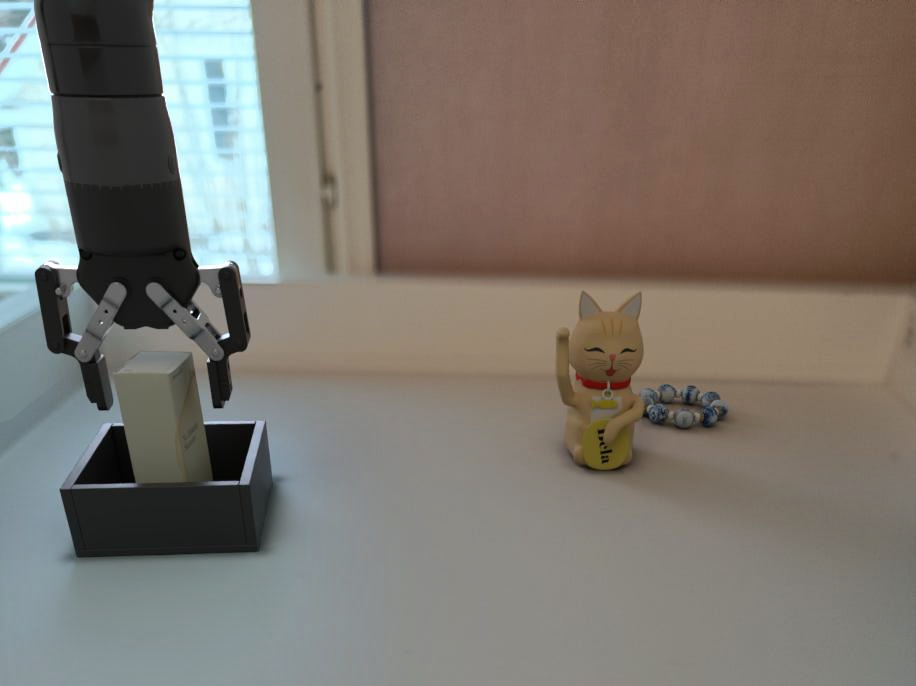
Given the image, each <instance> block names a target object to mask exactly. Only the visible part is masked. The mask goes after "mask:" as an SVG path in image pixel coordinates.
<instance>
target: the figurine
mask: <svg viewBox="0 0 916 686" xmlns="http://www.w3.org/2000/svg"><path fill="white" fill-rule="evenodd" d="M642 300H643V293H642V291H641V290H639V291H638V292H635V293H633V294H631V295H630V296H628V297H627V298H625V300H624V301H623V300H622V302H621V303H619V305H618V306H617V307H616V308H615V310H614V311H605V310H604V311H603V309H602V308H601V306H600V305H599V304H598V303H597V301H596V300H595V299H594V298H593V297H592V296H591V295H590V294H589V293H587V292H586V291H584V290H581V291H580V296H579V303H578V321H577V323H576V324H575V326H574V328H573V330H572V332H570V330H569V329H568V328H567V327H565V326H560V327H558V328H557V330H556V333H555V362H554V364H555V365H554V373H555V379H556V384H557V388H558V393H559V396H560V400H561V402H562V404H563V405H565V406H567V409H566V419H565V423H564V424H565V425H564V443H565V447H566V449H567V450H568V451H569V452H570V454H571V455H572V457H573V461H574V463H576V464H577V465H581V466H587V467H590V468H591V469H594V470H598V471H610V470H614V469H617V468H619V467H620V466H625V465H629V464H630V463H631V461H632V460H633V442H634V434H635V427H636V426H635V425H636V423H638V422H639V421H640V420H641V419H642V418H643V416H644V415H643V412H644V400H643V399H642V397H641V396H639V394H636V393H634V392H633V390H632V389H633V388H632V386H631V382H632V376H634V374H636V372H637V371H638V369H639V368H640V366H641V365H642V362H643V359H644V354H645V353H644V352H645V351H644V350H645V348H644V340H643V336H642V332H641V327H640V324H639V318H640V314H641V309H642ZM570 366H571V368H573V370H574V371H575V374H574V375H575V376H574V377H575V379H574V381H573V383H572V381H571V377H570Z"/></svg>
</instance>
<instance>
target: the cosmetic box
mask: <svg viewBox="0 0 916 686" xmlns="http://www.w3.org/2000/svg"><path fill="white" fill-rule="evenodd" d="M112 377H113V383H114V386H115V392H116V396H117V400H118V405H119V411H120V414H121V420H122V423H123V425H124V429H125V434H126V439H127V443H128V448H129V453H130V458H131V462H132V467H133V472H134V477H135V481H136V483H173V482H213V476H212V470H211V464H210V457H209V451H208V445H207V439H206V433H205V427H204V422H205V421H204V415H203V410H202V404H201V398H200V392H199V385H198V381H197V374H196V368H195V362H194V356H193V351H167V350H166V351H163V350H162V351H161V350H156V351H154V350H153V351H152V350H138V351H137V352H136V353H135V354H134V355H133V356H131V357H130V358H128V359H127V360H126V361H125V362H123V364H122V365H121V366H119V367H118V368H117V369H116V370H115V371H113V372H112Z"/></svg>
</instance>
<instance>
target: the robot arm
mask: <svg viewBox="0 0 916 686" xmlns="http://www.w3.org/2000/svg"><path fill="white" fill-rule="evenodd" d="M154 6H155V0H33V12H34V19H35V26H36V27H35V28H36V33H37V38H38V43H39V48H40V51H41V52H40V53H41V58H42V62H43V63H42V64H43V67H44V73H45V77H46V82H47V88H48V91H49V93H50V103H51V113H52V126H53V135H54V140H55V146H56V150H57V151H56V152H57V153H56V158H57V163H58V168H59V171H60V172H61V175H62V178H63V179H62V181H63V184H64V188H65V193H66V198H67V203H68V207H69V212H70V217H71V222H72V227H73V232H74V237H75V242H76V246H77V250H78V251H77V252H78V256H79V257H78V258H79V259H78V265H65V264H60V263H59V262H58V261H57V260H56V261H55V260H47V261H46V262H44V263H43V264H42V265H40V266H39V267H38V268H36V269H35V271H34V280H35V286H36V291H37V297H38V303H39V308H40V314H41V320H42V326H43V331H44V337H45V343H46V347H47V349H48V350H49V352H51V353H52V354H54V355H61V354H63V355H66V356H69V357H72V358H73V359H75V360H76V361H77V362H78V364H79V368H80V371H81V376H82V380H83V385H84V390H85V393H86V397H87V399H88V401H89V402H90V404H96V409H97V410H98V411H99V412H103V411H105V412H109V411H110V410H111V408H112V407H113V405H114V394H113V389H112V385H111V380H110V374H109V370H108V365H107V360H106V355H105V354H101V352H100V349H101V347H102V345H103V343H104V341H105V340H106V338H107V337H108V334H109V333H110V331H111V330H112V328H113V326H114V325H115V324H117V325H118V326H120V327H123V329H124V330H137V329H141V328H144V327H147V328H150V329H155V330H169V329H170V327H173V326H175V325H176V326H177V327H178V328H179V330H180V331H181V332H182V333H183V334H184V335H185V336H186V338H188V339H189V340H191V341H193V342H194V343H195V344H196V345H197V346H198V347H199V349H201V351H203V353H205V355H207V360H206V363H205V364H206V369H207V376H208V383H209V390H210V396H211V403H212V408H213V409H217V410H218V409H219V410H220V409H224V407H225V405H226V402H230V399H231V395H232V393H233V389H234V387H233V380H232V373H231V364H230V356H232V355H233V354H236V353H243V352H245V351H246V350H247V349H248V346H249V344H250V340H251V338H252V336H251V335H252V333H251V328H250V321H249V316H248V311H247V304H246V300H245V293H244V288H243V282H242V277H241V271H240V266H239V265H238V263H237V262H236V261H234V260H230V259H229V260H226V261H223V264H217V265H216V264H215V265H201V266H200V265H199V264H198V262H197V261H196V259H195V257H194V255H193V252H192V247H191V240H190V232H189V226H188V225H189V224H188V219H187V213H186V212H187V211H186V205H185V199H184V192H183V185H182V176H181V170H180V163H179V157H178V150H177V149H178V148H177V142H176V137H175V131H174V127H173V123H172V119H171V116H170V112H169V109H168V105H167V100H166V96H165V88H164V82H163V75H162V68H161V61H160V54H159V49H158V39H157V35H156V30H155V24H154ZM76 283H78V285H79V286H80V288H81V289H82V290H83V291H84V292H85V293H86V294H87V295H88V296H89V297H90V299H92V300H93V302H94V303H95V304H96V305H97V308H96V310H95V312H94V313H93V315H92V317H91V318H90V321H89V322H88V324H87V326H86V327H85V331H84V332H83V334H82V335H80V334H77V333H73V326H72V321H71V315H70V310H69V309H70V307H69V303H68V297H69V296H70V295H72V293H73V292H74V287H75V284H76ZM202 283H203V284H206V285H207V286H208V287H209V289H210V291H211V294H212V295H213V296H214V297H216V298H219V299H222V304H223V311H224V316H225V320H226V326H227V330H228V332H227V333H225V334H222V333H221V332H220V331H219V330H218V329H217V328H216V326H215V325H214V324H213V323H212V322H211V320H210V319H209V316H208V315H207V314H206V313H205V311H204V310H203V309H202V308H201V307H200V306H199V304H197V302H196V301H195V300H194V299H193V298H194V296H195V294H196V293H197V291H198V289H199V287H200V286H201V284H202Z"/></svg>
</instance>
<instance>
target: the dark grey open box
mask: <svg viewBox="0 0 916 686" xmlns="http://www.w3.org/2000/svg"><path fill="white" fill-rule="evenodd" d="M204 427H205V433H206V439H207V445H208V451H209V457H210V464H211V470H212V476H213V482H173V483H136V481H135V477H134V472H133V467H132V462H131V458H130V453H129V448H128V443H127V439H126V434H125V429H124V425H123V422H114V423H112V422H103V424H102V425H101V427H99V429H98V431H97V433H95V436H94V437H93V438H92V439H91V441H90V443H89V444H88V446H87V447H86V449H85V450H84V452H83V453H82V455H81V456H80V458H79V460H78V461H77V462H76V464H75V465H74V466H73V468H72V470H71V471H70V472H69V474H68V475H67V477H66V479H65V480H64V482H62V484H61V486H60V488H59V493H60V497H61V501H62V505H63V509H64V513H65V517H66V521H67V525H68V529H69V533H70V537H71V541H72V545H73V548H74V553H75V556H76V558H85V557H116V556H117V557H118V556H119V557H120V556H147V555H148V556H149V555H151V556H152V555H154V556H155V555H179V554H180V555H182V554H183V555H184V554H186V555H187V554H213V553H216V554H218V553H244V552H246V553H247V552H249V553H250V552H259V549H260V543H261V538H262V533H263V530H264V529H263V528H264V524H265V518H266V514H267V510H268V504H269V499H270V495H271V489H272V486H273V471H272V462H271V453H270V445H269V436H268V428H267V421H266V420H226V421H225V420H224V421H223V420H222V421H218V420H217V421H216V420H215V421H204Z"/></svg>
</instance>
